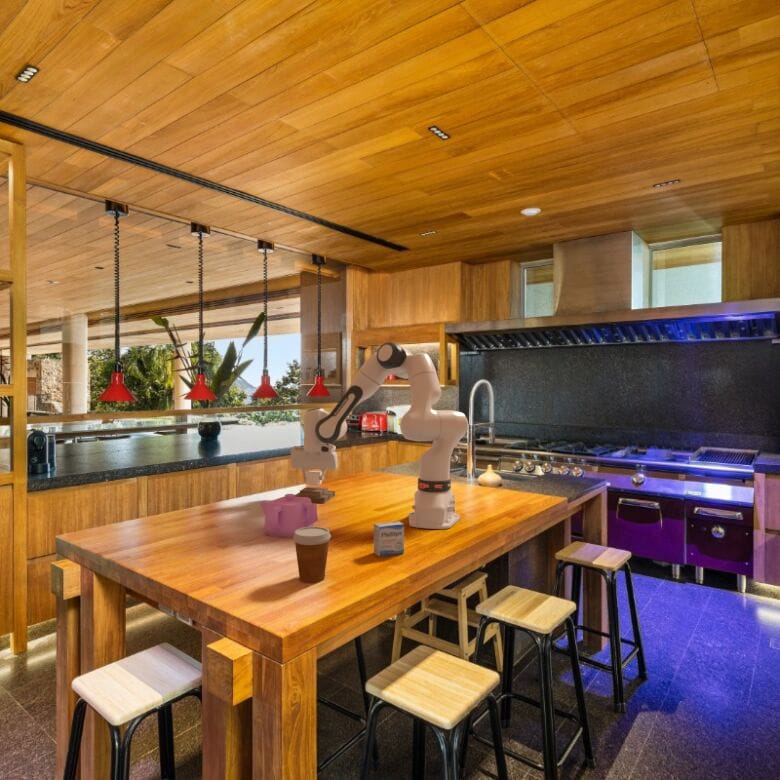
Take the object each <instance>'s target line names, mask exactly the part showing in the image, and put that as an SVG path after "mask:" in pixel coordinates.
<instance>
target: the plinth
mask: <svg viewBox="0 0 780 780" xmlns="http://www.w3.org/2000/svg"><path fill="white" fill-rule="evenodd" d="M294 495H295V497H308V498H310V499H311V503H312V504H325V503H327V502H328V501H330V500H331V499H333V498H334V497H335V496H336V491H335V490H329V489H328V487H327V486H326V487H325V486H310V485H306V487H304V488H302V489H300V490H299V492H298V493H296V494H294Z"/></svg>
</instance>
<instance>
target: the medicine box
mask: <svg viewBox="0 0 780 780" xmlns="http://www.w3.org/2000/svg"><path fill="white" fill-rule="evenodd" d="M373 553H374V554H375V555H377V556H378V557H379V558H383V557H382V556H384V557H390V556H396V554H397V555H402V554H404V553H405V525H404V523H403V522H402V521H399V520H397V521H388V522H378V523H377V522H376V523H374V524H373ZM389 555H390V556H389Z"/></svg>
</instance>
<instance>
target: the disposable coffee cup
mask: <svg viewBox="0 0 780 780" xmlns="http://www.w3.org/2000/svg"><path fill="white" fill-rule="evenodd" d="M331 537H332V535H331V533H330V530H329V528H326V527H323V526H313V527H304V528H300V529H297V530H296V531H295V534H294V536H293V538H292V539H293V541H294V542H293V543H294V545H295V551H296V552H295V553H296V561H297V569H298V575H299V581H301V582H303V583H307V584H308V583H309V584H313V583H315V584H316V583H318V582H319V583H320V582H322V581H324V580H325V577H326V568H327V560H328V552H329V545H330V540H331Z"/></svg>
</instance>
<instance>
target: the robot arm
mask: <svg viewBox="0 0 780 780" xmlns="http://www.w3.org/2000/svg"><path fill="white" fill-rule="evenodd" d="M392 375H393V376H394V377H396V378H398V379H401V380H404V381H408V383H409V387H410V393H411V399H412V400H411V405H410V408H409V410H408V411H407V412H405V414H403V416H402V418H401V419H400V424H399V429H400V433H401V435H402V436H403V437H404V438H405V440H409V441H414V442H427V441H428V442H429V441H431V442H432V445H431V446H430V448H429V449H427V450H426V451H424V452H423V453H421V455H420V457H419V459H418V461H419V462H418V464H419V465H418V469H419V471H418V478H417V490H416V491H415V492H414V505H412V506H411V507H412V510H414V511H410V512H408V515H407V516H408V526H409V527H413V528H419V529H432V530H447V529H450V528H451V527H453V525H455V524H456V523H457V522H458V521H459V520H460V519H461V515H459V514H457V513H456V495H455V494H454V493H453V492H452V489H451V488H452V486H451V485H452V481H451V478H450V475H451V474H450V471H451V468H450V467H451V460H452V459H451V458H452V454H453V451H454V449H455V448H456V445H457V443H459V441H460V440H461V439H462V438H463V437H465V436H466V434H467V432H468V430H469V422H468V417H467V416H466V415H465V413H463V412H462V411H457V410H452V409H441V410H439V409H438V410H436V409H433V408H432V406H433V405H435V404H437V402H439V400H440V399H441V397H442V392H443V391H442V389H441V384H440V381H439V376H438V373H437V370H436V366H435V365H434V362H433V361H432V358H431V357H430V356H429V355H428V354H427V353H425V352H416V353H412V352H410V351H409V350H408V349H406V348H405V347H403V346H401V345H399V344H398V343H396V342H392V341H391V342H390V341H388V342H385V343H382V345H380V346H379V348H378V349H377V351H376V352H374V353H372V354H371V355H370V356H369V357H368V358H367V359H366V360H365V362H364V363H363V364H362V365H361V366H360V368H359V370H358V371H357V372H356V374H355V376H354V377H353V378H352V380H351V382H350V384H349V386H348V388H347V390H346V391H345V393H344V395H343V396H342V397H341V398H340V400H339V401H338V403H337V404H336V405H335V406H334V407H333V409H332V411H330V412H328V411H326V410H325V409H324V408H322V407H315V408H310V409H307V410H306V411H305V413H304V416H303V428H302V429H303V433H304V436H303V445H301V446H300V445H299V446H298V445H294V446H293V447H291V449H290V465H289V466H290V468H291V469H301V472H302V473H303V475H304V480H306V473H307V472H308V471H307V470H321V471H322V475H320V476H319V480H322V481H324V480H325V474H326V472H327V470H328V471H329V470H331V471H335V470H336V469H337V470H338V467H339V459H338V453H337V452H336V449H337V447H336V445H334V444H332V443H334V442H336V441H337V440H339V439H341V438H342V437H344V436H345V434H346V433H347V431H348V424H347V421H346V419H347V418H348V417H349V415H350V414H351V413H352V411H353V410H354V409H355V408H356V406H358V405H360V404H361V403H362V402H364V401H366V400H367V399H369V398H371V397H372V396H373V395H375V393H376V392H378V390H379V389H380V387H381V386H382V384H384V381H385V380H386V379H387V378H388V377H389V376H392Z"/></svg>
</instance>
